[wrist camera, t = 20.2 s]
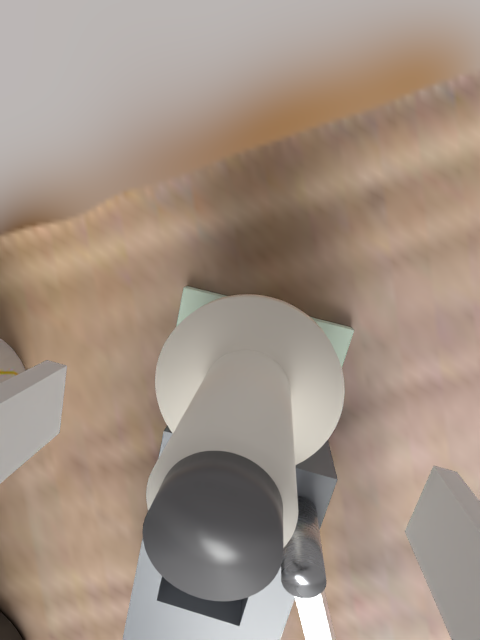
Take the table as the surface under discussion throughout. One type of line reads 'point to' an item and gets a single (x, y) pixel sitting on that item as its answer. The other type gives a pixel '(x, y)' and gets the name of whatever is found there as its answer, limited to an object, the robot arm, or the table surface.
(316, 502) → the socket block
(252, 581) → the plug
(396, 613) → the table surface
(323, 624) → the record player tonearm
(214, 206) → the table surface
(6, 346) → the cup
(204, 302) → the mat
